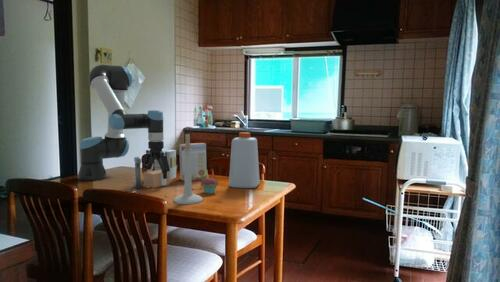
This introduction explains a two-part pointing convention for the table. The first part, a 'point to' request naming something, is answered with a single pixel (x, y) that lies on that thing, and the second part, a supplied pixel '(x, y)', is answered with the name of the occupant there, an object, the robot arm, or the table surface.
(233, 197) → the table surface
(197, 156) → the cracker box
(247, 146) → the plastic bottle
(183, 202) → the candlestick
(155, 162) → the supplement box
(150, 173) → the tan rectangular block
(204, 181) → the cupcake
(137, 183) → the t key
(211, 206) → the table surface
